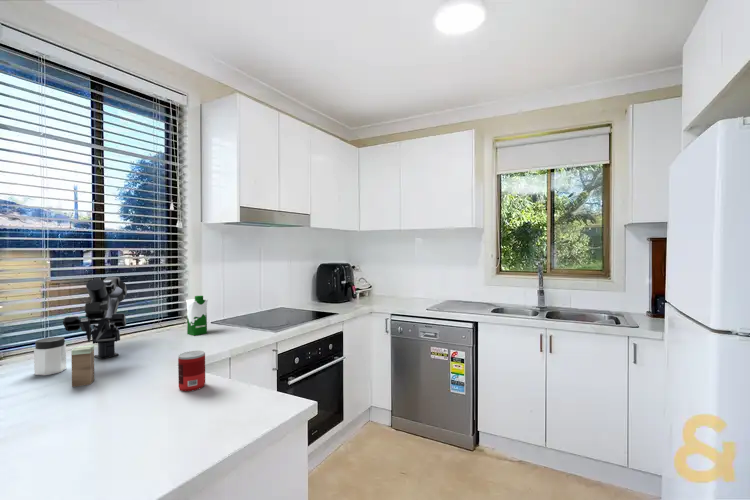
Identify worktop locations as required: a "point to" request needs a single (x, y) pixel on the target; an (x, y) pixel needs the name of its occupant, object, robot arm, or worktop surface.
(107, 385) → the worktop surface
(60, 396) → the worktop surface
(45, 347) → the jar
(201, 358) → the canned food
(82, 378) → the green and tan block
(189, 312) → the milk carton
